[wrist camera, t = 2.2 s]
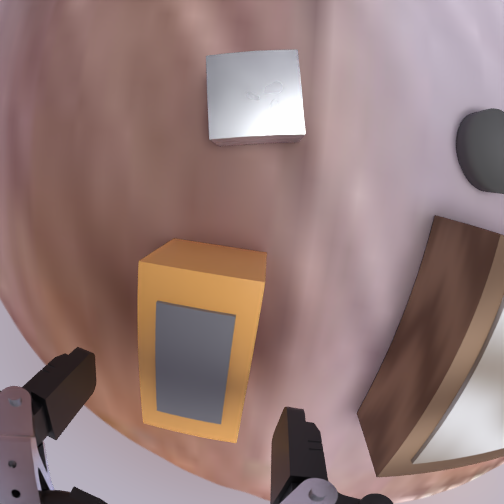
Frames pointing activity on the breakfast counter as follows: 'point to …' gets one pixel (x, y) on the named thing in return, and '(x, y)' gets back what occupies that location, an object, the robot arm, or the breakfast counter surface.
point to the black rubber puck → (482, 149)
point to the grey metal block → (254, 98)
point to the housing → (197, 335)
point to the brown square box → (443, 361)
